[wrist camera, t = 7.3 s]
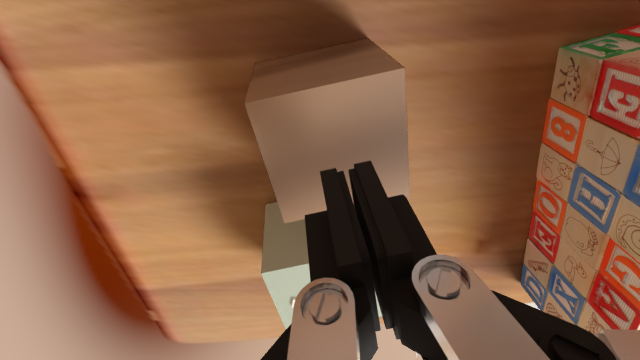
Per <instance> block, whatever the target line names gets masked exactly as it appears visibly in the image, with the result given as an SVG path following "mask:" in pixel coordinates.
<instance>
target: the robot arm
mask: <svg viewBox="0 0 640 360" xmlns="http://www.w3.org/2000/svg"><path fill="white" fill-rule="evenodd" d="M348 172H349V178H350V184H351V190H352V196H353V201H352V197H351V194H350V191H349V187H348V184H347V181H346V178H345V174H344V171H340V172H337V170H336V168H332V169H328V170H323V171H320V175H321V181H322V186H323V191H324V197H325V202H326V207H327V210H326V211H321V212H317V213H312V214H307V215H305V227H306V238H307V249H308V260H309V270H310V281H311V282H310V283H308V284H307V285H306V286H305V287H304V288H302V289H301V291H300V292H299V294H298V295H297V297H296V300H295V303H294V308H293V316H292V323H291V325H290V326H289V327H288V328H287V329H286V330H285V332H284V333H283V334H282V335H281V336H280V337H279V339H278V340H277V341H276V342H275V344H274V345H273V346H272V347H271V348H270V349H269V350H268V352H267V353H266V354H265V355H264V356H263V357H262V359H261V360H371V359H372V357H373V355H374V354H375V353H376V351H377V349H378V346H377V339H376V333H375V331H380V323H379V316H378V309H377V302H376V296H377V300H378V303H379V306H380V310H381V313H382V317H383V320H384V324H385V327H386V329H390V328H393V329H394V332H395V336H396V339H401V343H402V344H403V345H405V346H407V347H408V348H410V349H411V350H413V351H415V354H416V356H417V359H418V360H640V330H622V329H601V331H600V333H591V332H589V331H587V330H585V329H583V328H581V327H579V326H577V325H574V324H572V323H570V322H567V321H565V320H562V319H560V318H558V317H555V316H553V315H550V314H548V313H545V312H543V311H541V310H538V309H536V308H533V307H531V306H528V305H526V304H524V303H521V302H519V301H516V300H514V299H511V298H509V297H507V296H504V295H502V294H499V293H497V292H495V291H492V290H490V289H489V288H488V287H487V285H486V284H485V283H484V282H483V281H482V280H481V278H480V277H479V276H478V275H477V274H476V273H475V271H474V270H473V269H472V268H471V267H470V266H469V265H467V264H466V263H465V262H463V261H462V260H460V259H458V258H456V257H452V256H448V255H437V254H436V252H435V250H434V248H433V246H432V244H431V243H430V241H429V239H428V237H427V235H426V233H425V231H424V230H423V228H422V226H421V224H420V222H419V220H418V219H417V217H416V215H415V213H414V211H413V209H412V207H411V206H410V204H409V202H408V200H407V198H406V197H405V195H403V194H402V195H397V196H392V197H387V194H386V192H385V190H384V188H383V186H382V184H381V181H380V179H379V177H378V175H377V173H376V171H375V168H374V166H373V164H372V162H371V161H365V162H361V163H356V164H354V169H349V170H348ZM353 203H354V204H353ZM375 293H376V295H375Z"/></svg>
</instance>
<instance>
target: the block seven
mask: <svg viewBox="0 0 640 360" xmlns="http://www.w3.org/2000/svg"><path fill="white" fill-rule="evenodd" d="M261 274H262V277H263V279H264V281H265V283H266V286H267V288H268V290H269V292H270V295H271V297H272V299H273V301H274V304H275V306H276V308H277V310H278V313H279V315H280V317H281V319H282V322H283V324H284V326H285V328H286V329H287V328H288V327H289V326H290V325H291V323H292V316H293V308H294V303H295V300H296V297H297V295H298V294H299V292H300V291H301V289H302V288H304V287H305V286H306V285H307V284H308V283H310V282H311V281H310V270H309V260H308V249H307V238H306V227H305V219H303V220H299V221H294V222H289V223H284V220H283V217H282V214H281V211H280V208H279V205H278V202H275V203H270V204H266V208H265V223H264V238H263V252H262V267H261ZM375 295H376V293H375ZM376 302H377V309H378V316H379V317H381V316H382V313H381V310H380V306H379V303H378V300H377V296H376Z"/></svg>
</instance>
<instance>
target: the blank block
mask: <svg viewBox="0 0 640 360" xmlns="http://www.w3.org/2000/svg"><path fill="white" fill-rule="evenodd" d="M244 104H245V107H246V110H247V113H248V116H249V119H250V122H251V125H252V128H253V131H254V134H255V137H256V140H257V143H258V146H259V149H260V152H261V155H262V158H263V161H264V164H265V167H266V170H267V173H268V176H269V179H270V182H271V185H272V187H273V190H274V193H275V196H276V199H277V202H278V205H279V208H280V211H281V214H282V217H283V220H284V223H289V222H294V221H299V220H303V219H305V215H307V214H312V213H317V212H321V211H326V210H327V207H326V202H325V197H324V191H323V186H322V181H321V175H320V171H323V170H328V169H332V168H336V170H337V172H340V171H344V174H345V178H346V181H347V184H348V187H349V191H350V194H351V197H352V201H353V196H352V190H351V184H350V178H349V172H348V170H349V169H354V164H356V163H361V162H365V161H371V162H372V164H373V166H374V168H375V171H376V173H377V175H378V177H379V179H380V181H381V184H382V186H383V188H384V190H385V192H386V194H387V197H392V196H397V195H402V194H403V195H405V197H406V198H407V197H410V186H409V160H408V135H407V109H406V83H405V67H403V66H402V65H401V64H400V63H398V62H397V61H396V60H395V59H393V58H392V57H391V56H390V55H388V54H387V53H386V52H385V51H383V50H382V49H381V48H380V47H379V46H377V45H376V44H375V43H374V42H372V41H371V40H370V39H369V38H367V39H363V40H358V41H354V42H349V43H345V44H340V45H336V46H331V47H327V48H322V49H318V50H313V51H309V52H304V53H300V54H295V55H291V56H286V57H282V58H277V59H273V60H268V61H264V62H260V63H255V66H254V69H253V73H252V77H251V80H250V84H249V88H248V91H247V95H246V99H245V102H244ZM353 204H354V203H353Z"/></svg>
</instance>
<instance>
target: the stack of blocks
mask: <svg viewBox="0 0 640 360" xmlns="http://www.w3.org/2000/svg"><path fill="white" fill-rule="evenodd" d="M536 178H537V182H536V191H535V196H534V203H533V213H532V218H531V224H530V231H529V238H528V239H527V243H526V250H525V256H524V264H523V269H522V276H521V285H522V287H523V288H524V289H525V291H526V292H527V293H528V294H529V296H530V297H531V298H532V300H533V301H534V302H535V304H536V305H537V306H538V308H539V309H540V310H541V311H543V312H545V313H548V314H550V315H553V316H555V317H558V318H560V319H562V320H565V321H567V322H570V323H572V324H574V325H577V326H579V327H581V328H583V329H585V330H587V331H589V332H591V333H600V331H601V329H622V330H640V25H637V26H634V27H630V28H627V29H623V30H619V31H617V32H615V33H612V34H608V35H604V36H601V37H597V38H593V39H589V40H586V41H582V42H578V43H575V44H571V45H567V46H563V47H560V48H559V51H558V56H557V62H556V68H555V74H554V80H553V85H552V91H551V97H550V99H549V101H548V107H547V113H546V119H545V125H544V131H543V137H542V144H541V149H540V154H539V160H538V166H537V173H536Z"/></svg>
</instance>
